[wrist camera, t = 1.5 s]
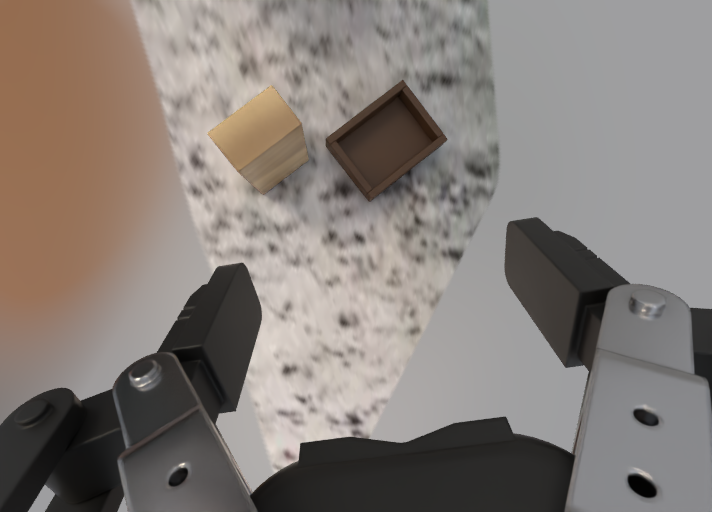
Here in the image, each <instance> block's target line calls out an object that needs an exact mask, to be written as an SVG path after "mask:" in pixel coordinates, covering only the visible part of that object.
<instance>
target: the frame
mask: <svg viewBox="0 0 712 512" xmlns="http://www.w3.org/2000/svg"><path fill="white" fill-rule="evenodd" d="M445 141H447V138H446V136H445V135H444V134H443V132H442V131H441V130H440V128H439V127H438V126H437V124H436V123H435V122H434V120H433V119H432V118H431V116H430V115H429V114H428V112H427V111H426V110H425V108H424V107H423V106H422V104H421V103H420V102H419V100H418V99H417V98H416V96H415V95H414V94H413V93H412V91H411V90H410V89H409V87H408V86H407V85H406V83H405V82H404V81H403V80H402V81H401V82H399V83H398V84H397V85H395V86H394V87H393V88H391V89H390V90H389V91H388V92H386V93H385V94H384V95H382V96H381V97H380V98H378V99H377V100H376V101H374V102H373V103H372V104H371V105H369V106H368V107H367V108H365V109H364V110H363V111H361V112H360V113H359V114H357V115H356V116H355V117H354V118H352V119H351V120H350V121H348V122H347V123H346V124H344V125H343V126H342V127H341V128H339V129H338V130H337V131H335V132H334V133H333V134H331V135H330V136H329V137H327V138H326V147H327V148H328V150H329V151H330V152H331V153H332V155H333V156H334V157H335V159H336V160H337V161H338V162H339V164H340V165H341V166H342V168H343V169H344V170H345V171H346V173H347V174H348V175H349V177H350V178H351V179H352V180H353V182H354V183H355V184H356V186H357V187H358V188H359V189H360V191H361V192H362V193H363V195H364V196H365V197H366V198H367V200H368V201H369V202H370V201H371V200H373V199H374V198H375V197H376V196H378V195H379V194H380V193H382V192H383V191H384V190H385V189H387V188H388V187H389V186H390V185H392V184H393V183H394V182H396V181H397V180H398V179H399V178H401V177H402V176H403V175H404V174H406V173H407V172H408V171H410V170H411V169H412V168H413V167H415V166H416V165H417V164H418V163H420V162H421V161H422V160H424V159H425V158H426V157H427V156H429V155H430V154H431V153H432V152H434V151H435V150H436V149H438V148H439V147H440V146H441V145H442V144H443V143H444V142H445Z"/></svg>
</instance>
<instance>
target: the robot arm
mask: <svg viewBox="0 0 712 512" xmlns="http://www.w3.org/2000/svg"><path fill="white" fill-rule="evenodd" d="M505 250H506V251H505V275H506V279H507V282H508V284H509V286H510V288H511V289H512V290H513V292H514V294H515V295H516V296H517V298H518V299H519V301H520V302H521V304H522V305H523V307H524V308H525V309H526V311H527V312H528V314H529V315H530V317H531V318H532V320H533V321H534V323H535V324H536V325H537V327H538V328H539V330H540V331H541V333H542V334H543V335H544V337H545V339H546V340H547V341H548V343H549V344H550V346H551V347H552V349H553V350H554V352H555V353H556V355H557V356H558V357H559V359H560V360H561V362H562V363H563V365H564V366H565V367H566V368H568V367H575V366H581V365H585V367H586V368H587V369H588V371H589V374H588V378H587V382H586V387H585V391H584V396H583V401H582V406H581V410H580V415H579V420H578V424H577V429H576V433H575V438H574V443H573V447H572V451H571V453H570V452H568V451H566V450H564V449H562V448H560V447H558V446H556V445H554V444H551V443H549V442H546V441H543V440H540V439H537V438H534V437H530V436H525V435H521V434H513V432H512V430H511V428H510V425H509V423H508V420H507V418H506V417H499V418H491V419H483V420H475V421H467V422H460V423H454V424H451V425H449V426H446V427H444V428H441V429H439V430H436V431H434V432H432V433H429V434H426V435H424V436H421V437H419V438H416V439H414V440H411V441H409V442H404V443H396V442H388V441H380V440H372V439H364V438H356V437H344V438H336V439H329V440H321V441H313V442H306V443H301V444H300V454H299V461H297V462H295V463H292V464H290V465H288V466H287V467H285V468H283V469H281V470H280V471H278V472H277V473H275V474H274V475H272V476H271V477H269V478H268V479H267V480H266V481H265V482H263V483H262V484H261V485H260V486H259V487H258V488H257V489H256V490H255V491H254V492H252V490H251V488H250V487H249V485H248V483H247V482H246V480H245V478H244V476H243V474H242V472H241V470H240V468H239V467H238V465H237V463H236V461H235V459H234V457H233V455H232V454H231V452H230V450H229V448H228V446H227V444H226V443H225V441H224V439H223V437H222V435H221V433H220V431H219V430H218V428H217V426H216V420H217V418H218V414H219V413H226V412H233V411H236V408H237V405H238V401H239V398H240V394H241V391H242V387H243V384H244V380H245V377H246V373H247V370H248V366H249V363H250V359H251V356H252V352H253V349H254V345H255V342H256V339H257V335H258V332H259V328H260V325H261V320H262V311H261V305H260V302H259V299H258V296H257V294H256V291H255V288H254V285H253V283H252V280H251V277H250V275H249V272H248V269H247V267H246V266H245V264H243V263H238V264H231V265H225V266H219V267H217V268H216V270H215V271H214V273H213V275H212V277H211V279H210V281H209V282H208V284H205V285H202V286H201V287H200V288H199V289H198V290H197V291H196V292H194V293H193V294H192V295H191V296H190V298H189V299H188V301H187V303H186V305H185V306H184V310H182V311H181V313H180V315H179V316H178V320H177V321H175V323H174V325H173V326H172V328H171V330H170V331H169V333H168V335H167V336H166V338H165V340H164V341H163V343H162V345H161V346H160V348H159V350H158V351H157V353H154V354H151V355H149V356H146V357H143V358H141V359H140V360H138V361H136V362H134V363H133V364H132V365H130V366H129V367H128V368H127V369H125V370H124V372H122V373H121V374H120V376H119V377H118V378H117V380H116V381H115V383H114V386H113V389H111V390H108V391H106V392H103V393H100V394H97V395H95V396H92V397H89V398H87V399H84V400H81V401H80V400H79V399H78V398H77V397H76V395H75V394H74V393H73V392H72V391H71V390H70V389H67V388H57V389H53V390H49V391H46V392H44V393H42V394H39V395H37V396H35V397H33V398H32V399H30V400H29V401H27V402H25V403H24V404H22V405H21V406H20V407H18V408H17V409H16V410H15V411H14V412H12V413H11V414H10V415H9V416H8V417H7V418H6V419H5V420H4V422H3V423H2V424H1V425H0V512H28V510H29V509H30V507H31V506H32V504H33V502H34V501H35V499H36V498H37V496H38V494H39V493H40V491H41V489H42V488H43V486H44V485H46V486H47V487H48V488H50V489H51V490H52V491H53V492H54V493H55V496H54V497H53V499H52V501H51V502H50V504H49V506H48V508H47V509H46V511H45V512H117V511H118V509H119V506H120V504H121V502H122V499H123V497H124V496H125V500H126V505H127V510H128V512H712V309H700V308H689V306H688V305H687V304H686V303H685V302H684V301H683V300H682V299H681V298H680V297H678V296H676V295H675V294H673V293H671V292H669V291H666V290H663V289H661V288H657V287H654V286H649V285H642V284H630V283H629V282H628V281H626V280H625V279H624V278H623V277H622V276H620V275H619V274H618V273H617V272H616V271H614V270H613V269H612V268H611V267H610V266H608V265H607V264H606V263H605V262H604V261H602V260H601V259H600V258H597V255H595V254H594V253H593V252H592V251H591V250H587V247H586V246H584V245H583V244H582V243H581V242H580V241H579V240H577V239H576V238H574V237H572V236H570V235H567V234H565V233H563V232H560V231H552V230H551V229H550V228H549V227H548V226H547V225H546V224H545V223H543V222H542V221H541V220H540V219H539V218H537V217H535V218H529V219H522V220H516V221H510V222H509V223H508V225H507V233H506V249H505Z"/></svg>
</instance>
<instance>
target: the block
mask: <svg viewBox="0 0 712 512" xmlns="http://www.w3.org/2000/svg"><path fill="white" fill-rule="evenodd" d="M207 134H208V135H209V137H210V138H211V139H212V140H213V142H214V143H215V144H216V145H217V147H218V148H219V149H220V150H221V152H222V153H223V154H224V155H225V157H226V158H227V159H228V160H229V162H230V163H231V164H232V165H233V167H234V168H235V169H236V170H237V172H239V173H240V174H241V175H242V176H243V177H244V178H245V179H246V180H247V181H248V182H250V183H251V184H252V185H253V186H254V187H255V188H256V189H257V190H258V191H259V192H261V193H262V194H263V195H264V194H265V193H266V192H268V191H269V190H270V189H272V188H273V187H274V186H276V185H277V184H278V183H280V182H281V181H282V180H283V179H285V178H286V177H287V176H289V175H290V174H291V173H293V172H294V171H295V170H296V169H298V168H299V167H300V166H302V165H303V164H304V163H306V162H307V161H308V160H309V159H308V154H307V149H306V143H305V138H304V133H303V128H302V123H301V122H300V120H299V119H298V118H297V117H296V115H295V114H294V113H293V111H292V110H291V109H290V108H289V106H288V105H287V104H286V102H285V101H284V100H283V99H282V97H281V96H280V95H279V93H278V92H277V91H276V90H275V88H274V87H273V86H272V85H271V86H270V87H268V88H267V89H266V90H264V91H263V92H262V93H260V94H259V95H258V96H256V97H255V98H254V99H252V100H251V101H250V102H248V103H247V104H246V105H244V106H243V107H242V108H240V109H239V110H238V111H236V112H235V113H234V114H232V115H231V116H230V117H228V118H227V119H226V120H224V121H223V122H222V123H220V124H219V125H218V126H216V127H215V128H214V129H212V130H211V131H209V132H208V133H207Z"/></svg>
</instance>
